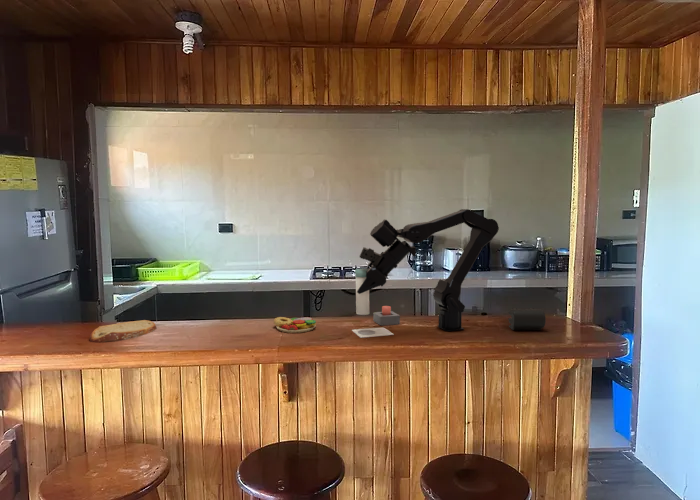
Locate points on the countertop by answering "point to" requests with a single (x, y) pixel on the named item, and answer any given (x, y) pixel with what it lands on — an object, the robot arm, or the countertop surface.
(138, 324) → the slice of bread
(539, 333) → the countertop surface
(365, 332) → the paper
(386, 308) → the button
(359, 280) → the teal and white bottle
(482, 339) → the countertop surface
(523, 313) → the end cap
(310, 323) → the toy food set
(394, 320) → the button housing
